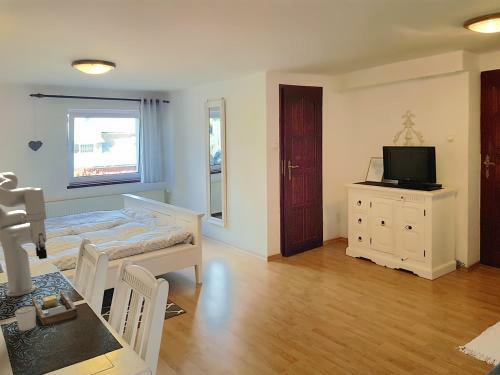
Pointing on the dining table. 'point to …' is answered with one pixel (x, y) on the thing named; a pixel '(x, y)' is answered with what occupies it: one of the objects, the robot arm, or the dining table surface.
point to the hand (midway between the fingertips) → (41, 256)
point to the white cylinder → (26, 318)
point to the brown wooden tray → (57, 316)
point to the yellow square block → (50, 301)
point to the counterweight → (56, 310)
